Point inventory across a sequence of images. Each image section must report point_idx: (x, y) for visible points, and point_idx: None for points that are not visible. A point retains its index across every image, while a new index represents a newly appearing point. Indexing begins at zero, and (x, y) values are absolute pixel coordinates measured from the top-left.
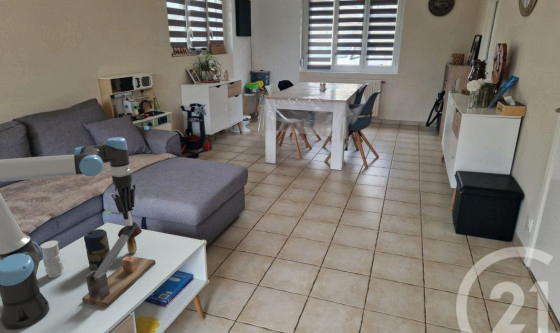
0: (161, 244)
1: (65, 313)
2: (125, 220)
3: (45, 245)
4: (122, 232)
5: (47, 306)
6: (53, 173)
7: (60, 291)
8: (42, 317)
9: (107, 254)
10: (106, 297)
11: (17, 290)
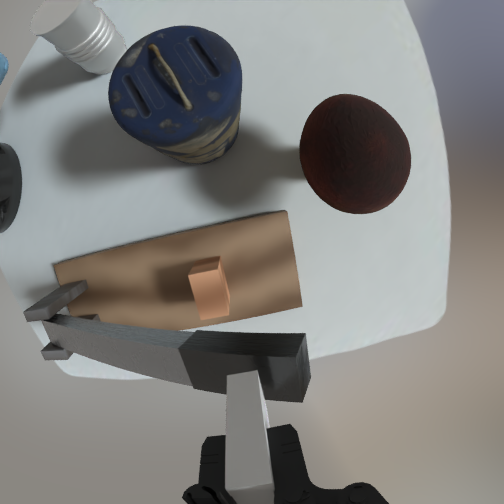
0: (402, 221)
1: (28, 261)
2: (228, 415)
3: (46, 9)
4: (191, 350)
5: (6, 220)
6: None
7: (57, 158)
8: (2, 231)
9: (201, 158)
10: None
11: None
